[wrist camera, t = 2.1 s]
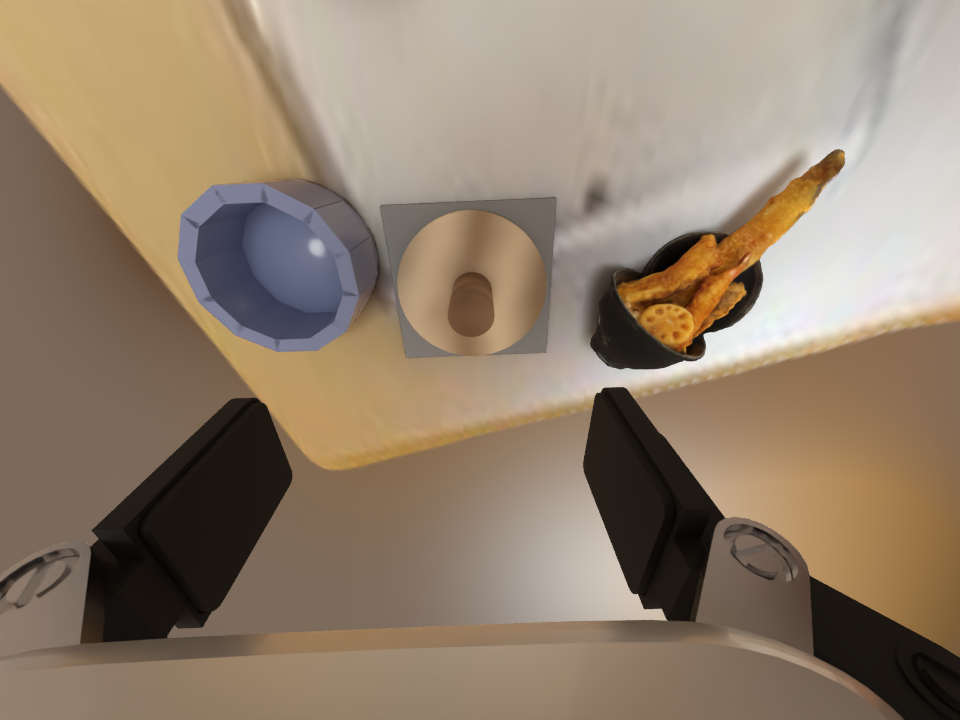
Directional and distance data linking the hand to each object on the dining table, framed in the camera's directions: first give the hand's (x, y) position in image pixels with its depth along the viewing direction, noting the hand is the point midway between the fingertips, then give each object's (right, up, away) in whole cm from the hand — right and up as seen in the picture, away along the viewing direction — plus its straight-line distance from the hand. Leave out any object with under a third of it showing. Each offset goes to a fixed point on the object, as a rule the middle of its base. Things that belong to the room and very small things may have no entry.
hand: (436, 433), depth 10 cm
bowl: (-12, +11, +18) cm, 24 cm away
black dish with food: (+18, +10, +18) cm, 27 cm away
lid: (+1, +8, +18) cm, 20 cm away
